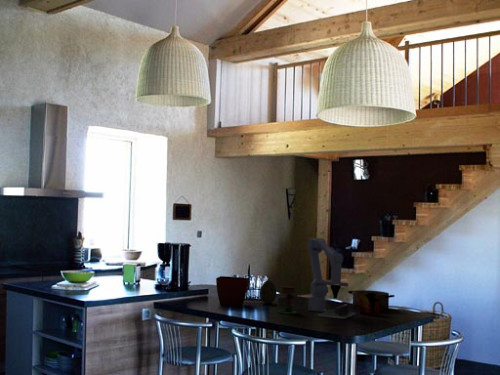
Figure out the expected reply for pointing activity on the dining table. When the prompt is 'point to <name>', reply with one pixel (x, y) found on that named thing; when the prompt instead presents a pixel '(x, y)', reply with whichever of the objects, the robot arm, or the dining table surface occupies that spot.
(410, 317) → the dining table surface
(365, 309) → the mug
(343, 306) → the breaker
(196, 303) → the dining table surface
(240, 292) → the plant pot
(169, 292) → the dining table surface
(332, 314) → the breaker panel
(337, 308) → the breaker
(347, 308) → the breaker
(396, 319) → the dining table surface
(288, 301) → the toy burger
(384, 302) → the cooking pot
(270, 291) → the decorative egg
